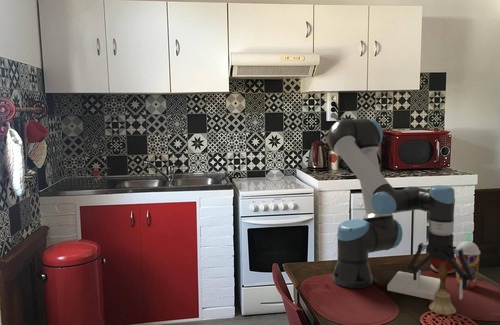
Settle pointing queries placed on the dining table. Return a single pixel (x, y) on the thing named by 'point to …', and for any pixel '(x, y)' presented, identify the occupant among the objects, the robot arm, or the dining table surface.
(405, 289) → the stand
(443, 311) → the hand bell
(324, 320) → the dining table surface
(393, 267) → the dining table surface
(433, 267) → the cake
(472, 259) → the smoothie
